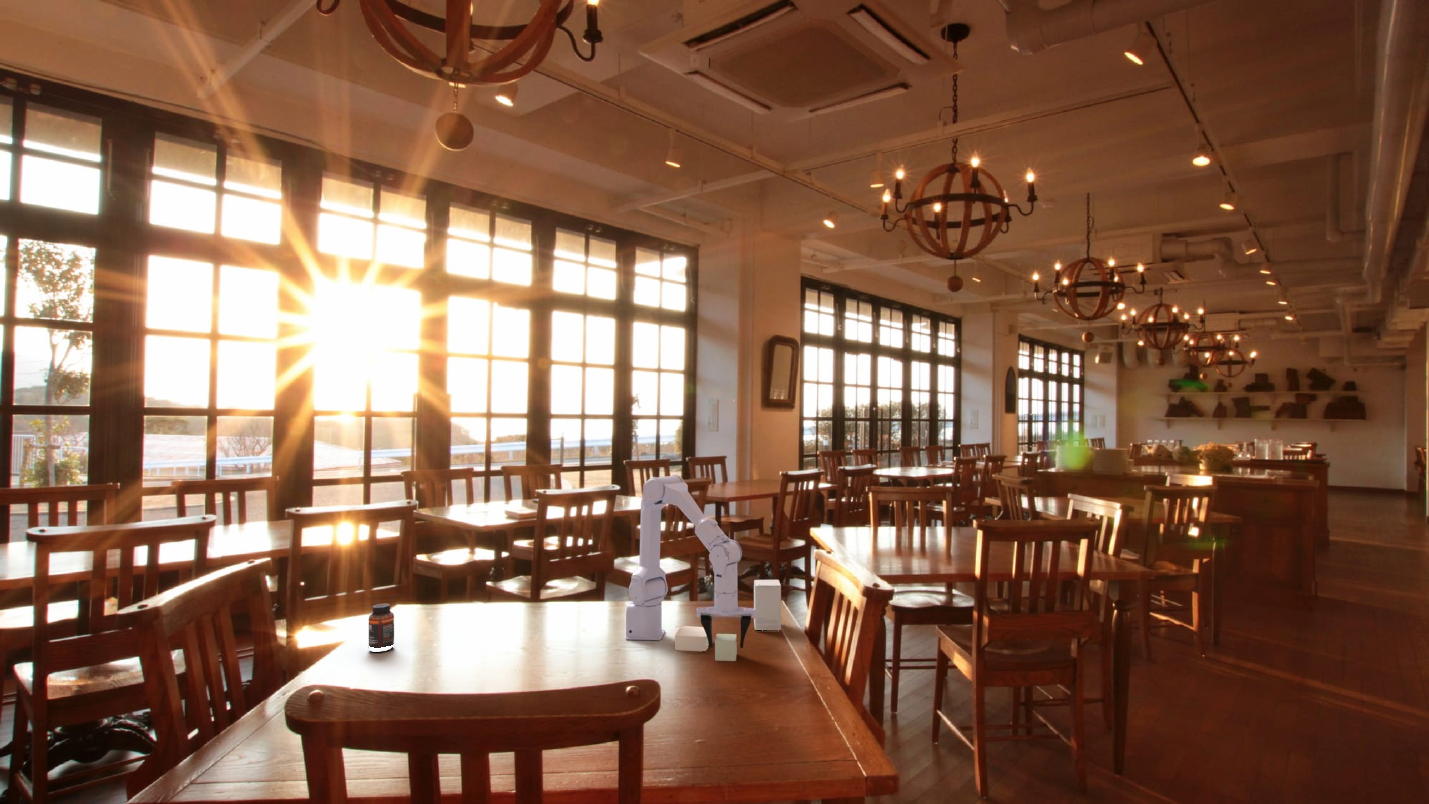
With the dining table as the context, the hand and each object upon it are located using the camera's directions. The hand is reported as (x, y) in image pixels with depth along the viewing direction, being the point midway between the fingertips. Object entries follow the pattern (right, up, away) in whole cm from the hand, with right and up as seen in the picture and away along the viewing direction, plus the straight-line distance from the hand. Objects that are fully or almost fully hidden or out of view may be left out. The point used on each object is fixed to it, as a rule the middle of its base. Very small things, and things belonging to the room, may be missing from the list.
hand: (726, 646), depth 176 cm
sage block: (0, -3, 0) cm, 3 cm away
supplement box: (+12, -3, +24) cm, 27 cm away
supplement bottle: (-88, -3, +6) cm, 88 cm away
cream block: (-8, -3, +9) cm, 12 cm away
